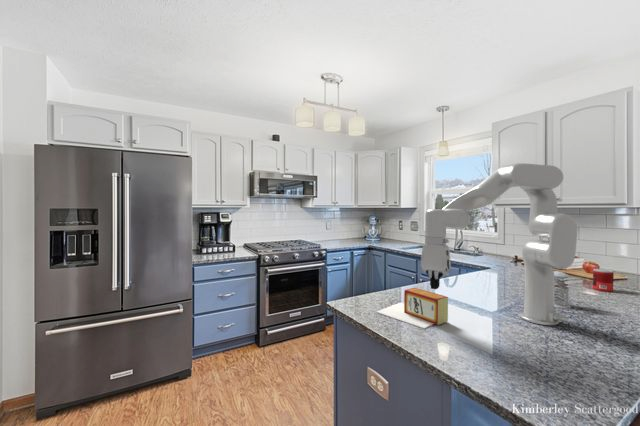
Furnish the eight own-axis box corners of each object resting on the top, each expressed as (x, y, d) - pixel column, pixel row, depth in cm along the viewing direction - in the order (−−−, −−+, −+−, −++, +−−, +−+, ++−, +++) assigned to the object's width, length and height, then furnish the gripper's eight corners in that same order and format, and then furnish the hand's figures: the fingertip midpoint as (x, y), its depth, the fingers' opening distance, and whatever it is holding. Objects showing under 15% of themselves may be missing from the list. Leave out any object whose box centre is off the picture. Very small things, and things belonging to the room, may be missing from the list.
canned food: (617, 292, 154) (617, 271, 154) (602, 292, 154) (602, 271, 154) (603, 288, 162) (603, 268, 161) (588, 288, 162) (589, 268, 162)
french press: (569, 309, 128) (570, 252, 127) (536, 302, 137) (537, 249, 136) (573, 304, 134) (574, 250, 134) (542, 298, 143) (543, 247, 142)
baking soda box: (437, 325, 110) (403, 312, 123) (447, 321, 113) (413, 309, 126) (438, 300, 109) (403, 289, 123) (448, 297, 113) (413, 287, 126)
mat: (447, 316, 119) (447, 315, 119) (424, 329, 107) (424, 327, 107) (400, 303, 135) (400, 302, 135) (376, 312, 123) (376, 311, 123)
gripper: (459, 242, 110) (458, 290, 110) (422, 238, 121) (421, 282, 121) (450, 243, 105) (449, 294, 105) (412, 240, 116) (412, 286, 116)
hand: (434, 288), depth 113 cm, fingers closed
